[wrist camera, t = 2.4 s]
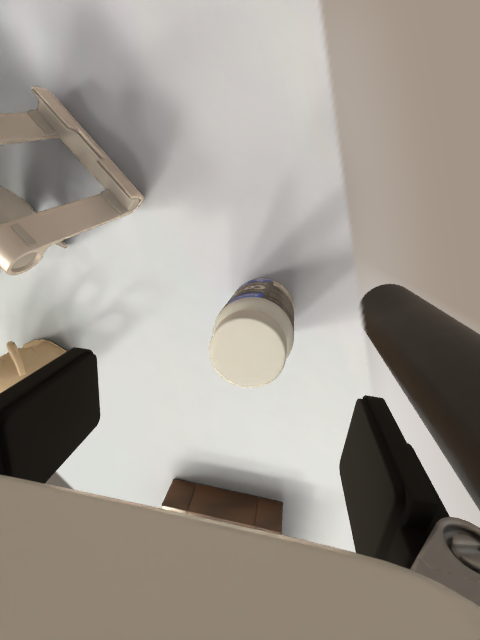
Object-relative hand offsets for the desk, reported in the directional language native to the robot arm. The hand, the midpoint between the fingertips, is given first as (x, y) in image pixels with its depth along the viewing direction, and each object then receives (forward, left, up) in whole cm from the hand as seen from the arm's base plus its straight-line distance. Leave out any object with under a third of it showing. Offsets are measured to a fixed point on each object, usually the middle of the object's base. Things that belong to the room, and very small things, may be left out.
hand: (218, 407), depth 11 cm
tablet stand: (+15, -7, -14) cm, 21 cm away
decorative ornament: (+19, +8, -14) cm, 25 cm away
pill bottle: (0, 0, -14) cm, 14 cm away
